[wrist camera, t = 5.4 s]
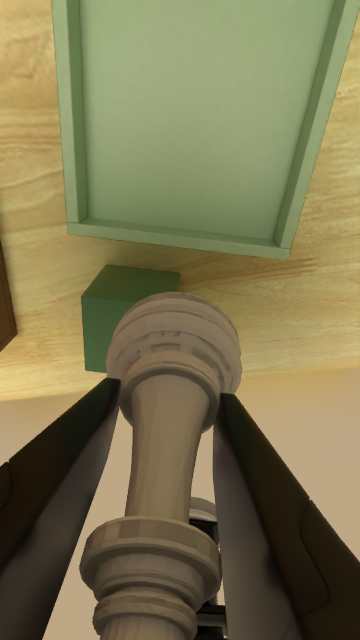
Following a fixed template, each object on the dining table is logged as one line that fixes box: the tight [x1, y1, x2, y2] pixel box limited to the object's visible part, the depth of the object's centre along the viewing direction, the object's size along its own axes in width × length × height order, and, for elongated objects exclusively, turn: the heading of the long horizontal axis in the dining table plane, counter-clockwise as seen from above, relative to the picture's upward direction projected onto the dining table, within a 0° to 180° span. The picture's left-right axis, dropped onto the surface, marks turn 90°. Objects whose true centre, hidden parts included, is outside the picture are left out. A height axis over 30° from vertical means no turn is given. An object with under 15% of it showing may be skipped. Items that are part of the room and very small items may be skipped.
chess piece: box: [79, 292, 242, 640], centre depth 7 cm, size 4×4×10 cm
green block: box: [81, 265, 180, 373], centre depth 18 cm, size 4×4×4 cm
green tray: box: [51, 0, 360, 260], centre depth 14 cm, size 11×11×2 cm
